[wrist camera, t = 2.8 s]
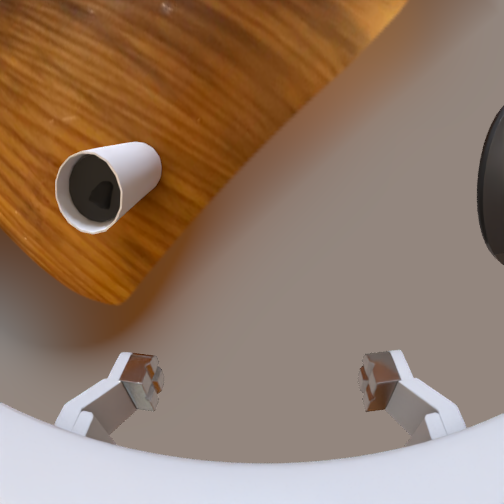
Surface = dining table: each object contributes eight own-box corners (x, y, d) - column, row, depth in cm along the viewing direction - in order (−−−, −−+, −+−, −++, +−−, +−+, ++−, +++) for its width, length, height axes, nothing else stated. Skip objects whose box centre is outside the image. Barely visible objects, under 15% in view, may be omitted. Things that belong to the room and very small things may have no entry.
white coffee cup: (174, 148, 28) (132, 165, 19) (155, 207, 31) (113, 246, 22) (119, 130, 27) (62, 141, 18) (104, 187, 30) (51, 217, 21)
